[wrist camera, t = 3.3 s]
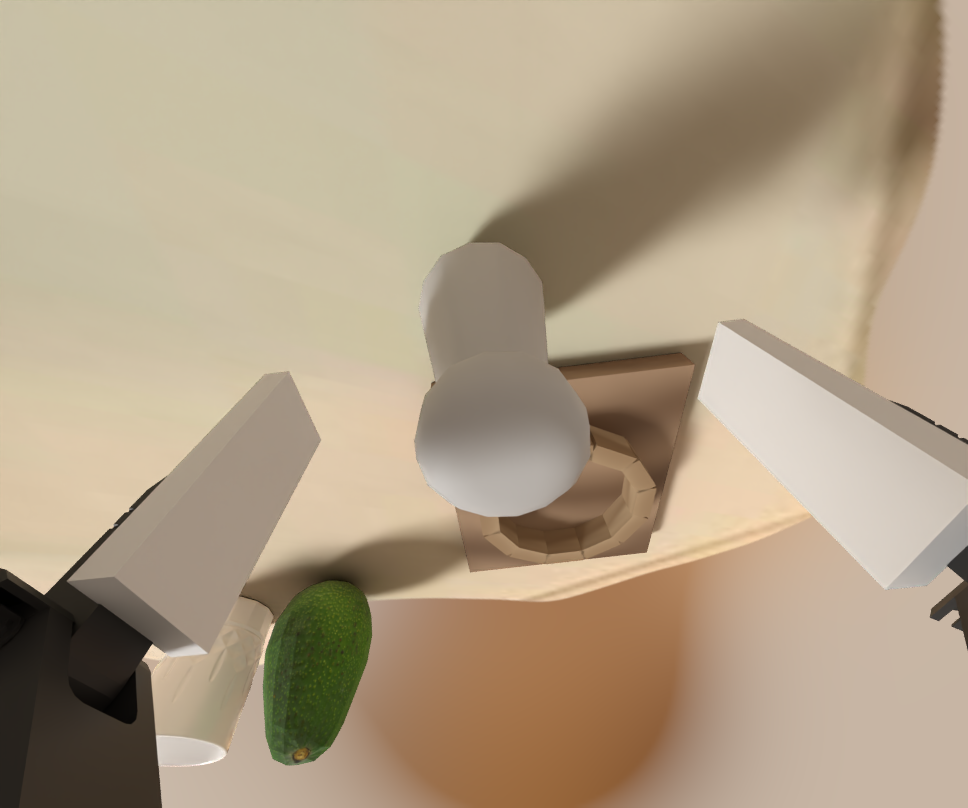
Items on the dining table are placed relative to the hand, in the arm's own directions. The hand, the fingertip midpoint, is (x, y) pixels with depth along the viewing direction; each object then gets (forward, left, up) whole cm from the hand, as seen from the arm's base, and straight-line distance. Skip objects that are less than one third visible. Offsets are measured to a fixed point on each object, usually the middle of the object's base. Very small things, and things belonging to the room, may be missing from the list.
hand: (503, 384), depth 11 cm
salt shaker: (0, 0, -9) cm, 9 cm away
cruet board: (+14, +4, -9) cm, 17 cm away
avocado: (+25, -16, -9) cm, 31 cm away
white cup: (+28, -27, -9) cm, 40 cm away
